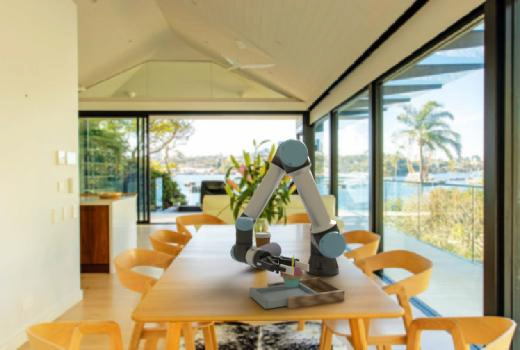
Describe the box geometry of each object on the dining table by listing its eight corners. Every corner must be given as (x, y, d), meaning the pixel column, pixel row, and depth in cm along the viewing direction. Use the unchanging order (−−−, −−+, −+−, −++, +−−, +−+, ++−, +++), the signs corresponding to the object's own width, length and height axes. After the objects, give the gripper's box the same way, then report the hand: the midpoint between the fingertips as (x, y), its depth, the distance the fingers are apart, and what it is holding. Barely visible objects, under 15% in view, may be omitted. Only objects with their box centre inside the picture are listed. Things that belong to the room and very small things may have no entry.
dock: (318, 285, 162) (318, 277, 162) (345, 300, 144) (345, 290, 144) (267, 292, 153) (267, 283, 153) (289, 308, 135) (289, 298, 135)
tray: (300, 288, 156) (300, 281, 156) (319, 300, 142) (319, 292, 142) (249, 295, 148) (249, 287, 148) (265, 308, 134) (265, 300, 134)
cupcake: (306, 288, 143) (306, 255, 143) (284, 289, 141) (285, 257, 141) (297, 281, 152) (297, 250, 151) (276, 282, 149) (277, 251, 149)
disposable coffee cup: (260, 251, 225) (260, 230, 225) (274, 253, 220) (274, 232, 220) (251, 254, 218) (251, 233, 217) (265, 256, 212) (265, 235, 212)
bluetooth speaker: (266, 259, 208) (266, 240, 207) (282, 260, 204) (282, 242, 203) (246, 269, 187) (246, 248, 187) (263, 271, 183) (263, 250, 183)
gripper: (276, 263, 166) (318, 274, 149) (239, 271, 152) (281, 285, 136) (277, 245, 166) (319, 255, 149) (240, 252, 152) (281, 264, 135)
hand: (301, 269), depth 142 cm, fingers closed on cupcake, 8 cm apart
